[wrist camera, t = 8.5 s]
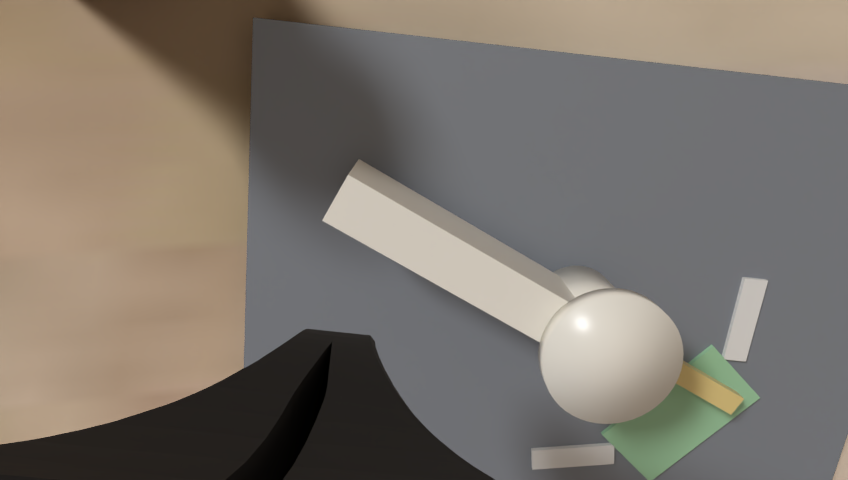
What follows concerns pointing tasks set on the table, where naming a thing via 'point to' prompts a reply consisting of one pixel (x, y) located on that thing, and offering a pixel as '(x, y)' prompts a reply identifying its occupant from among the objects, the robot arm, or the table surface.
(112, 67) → the table surface
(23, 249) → the table surface
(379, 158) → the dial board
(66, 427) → the table surface
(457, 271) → the peg
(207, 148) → the table surface
